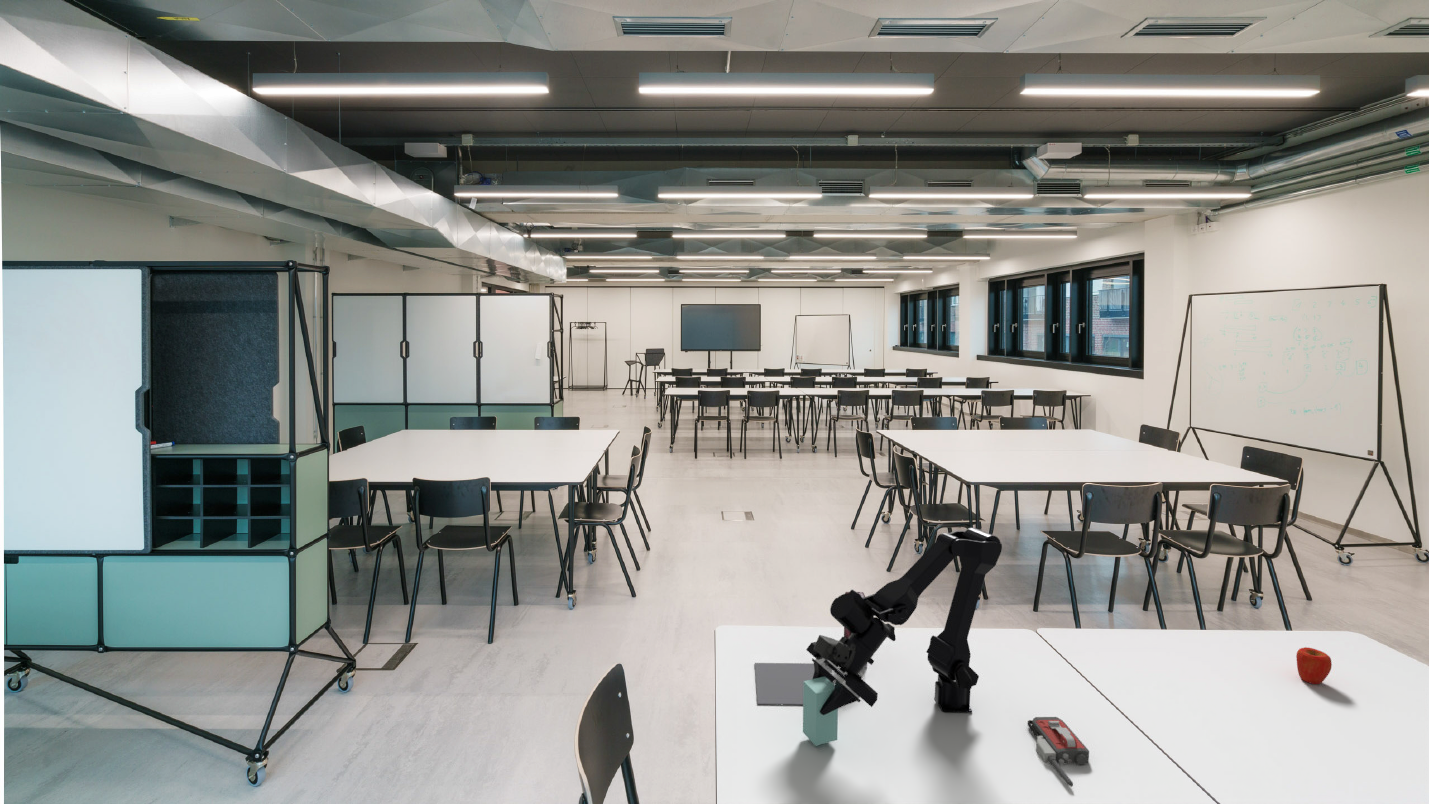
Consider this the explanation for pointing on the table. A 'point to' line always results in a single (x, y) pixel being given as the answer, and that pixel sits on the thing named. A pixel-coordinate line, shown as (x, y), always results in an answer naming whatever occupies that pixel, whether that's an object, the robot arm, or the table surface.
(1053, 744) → the walkie-talkie
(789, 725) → the table surface
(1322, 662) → the apple
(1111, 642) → the table surface
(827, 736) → the teal block
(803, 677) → the charcoal mat
